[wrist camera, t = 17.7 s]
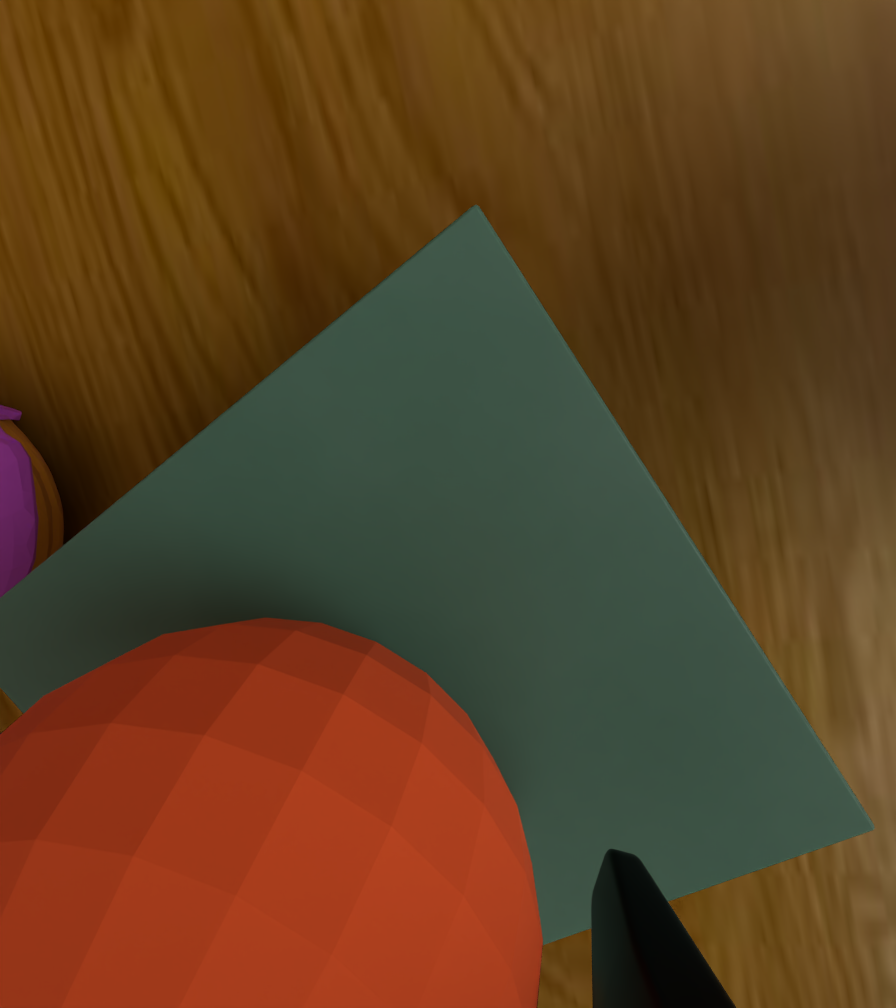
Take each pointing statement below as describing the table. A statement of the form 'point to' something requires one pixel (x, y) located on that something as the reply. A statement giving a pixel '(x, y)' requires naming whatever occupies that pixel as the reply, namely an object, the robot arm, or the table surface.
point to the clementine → (260, 834)
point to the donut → (25, 505)
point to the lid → (468, 579)
